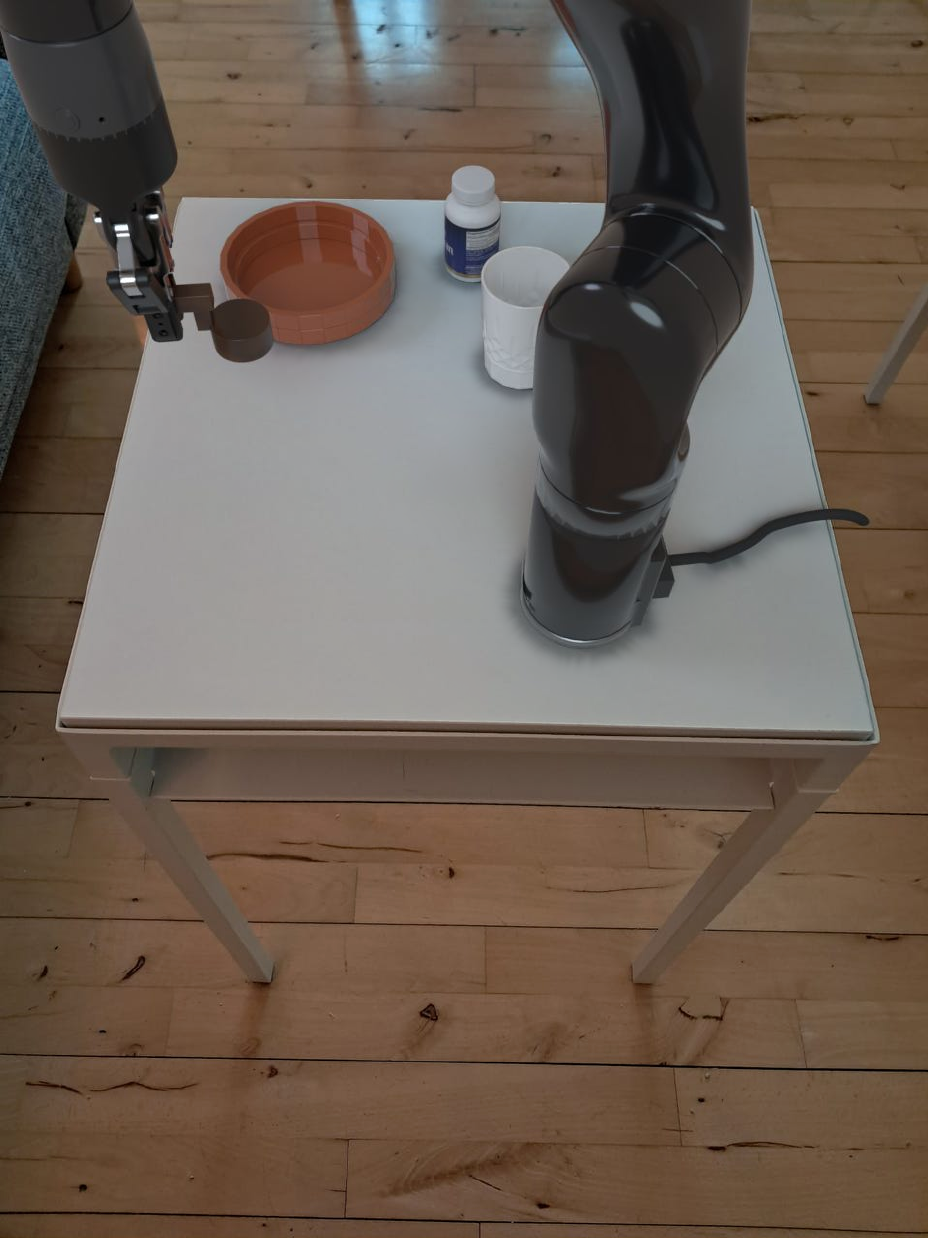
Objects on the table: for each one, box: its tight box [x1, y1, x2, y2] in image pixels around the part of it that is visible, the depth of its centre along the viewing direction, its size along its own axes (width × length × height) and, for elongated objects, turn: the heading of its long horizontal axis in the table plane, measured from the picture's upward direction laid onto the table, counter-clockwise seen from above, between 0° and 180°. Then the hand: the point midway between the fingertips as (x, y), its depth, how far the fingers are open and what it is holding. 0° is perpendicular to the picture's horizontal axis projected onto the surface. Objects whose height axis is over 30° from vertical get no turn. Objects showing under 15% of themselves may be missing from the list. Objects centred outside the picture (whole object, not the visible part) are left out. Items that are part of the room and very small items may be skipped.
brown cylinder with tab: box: [133, 282, 275, 364], centre depth 68 cm, size 9×4×5 cm, turn 98°
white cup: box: [480, 245, 572, 390], centre depth 84 cm, size 8×8×10 cm
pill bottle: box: [443, 165, 502, 283], centre depth 91 cm, size 5×5×10 cm
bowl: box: [219, 200, 397, 346], centre depth 91 cm, size 16×16×4 cm
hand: (169, 327), depth 68 cm, fingers closed on brown cylinder with tab, 1 cm apart
